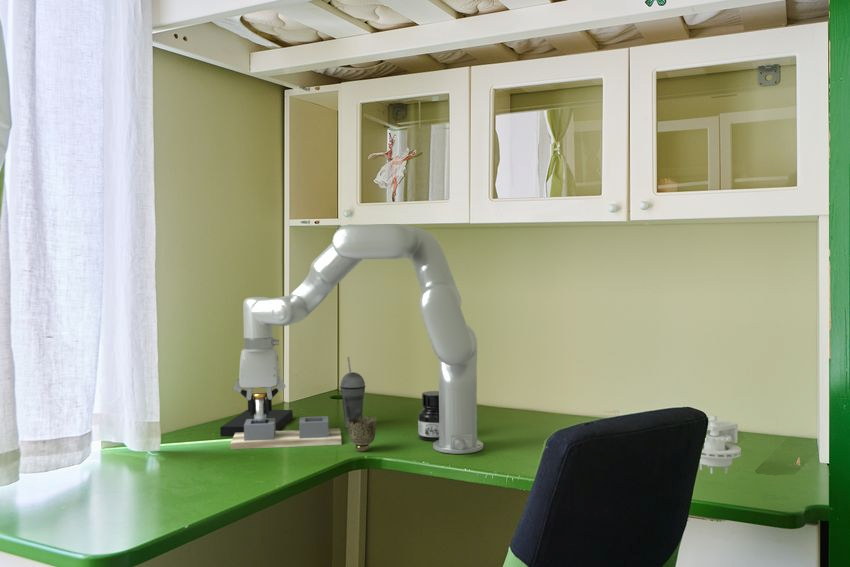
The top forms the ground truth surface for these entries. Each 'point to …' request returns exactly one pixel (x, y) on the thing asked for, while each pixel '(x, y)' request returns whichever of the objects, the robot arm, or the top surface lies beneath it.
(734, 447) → the mechanical part
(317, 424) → the lock mount
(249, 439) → the dock socket
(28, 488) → the top surface
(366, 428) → the cup
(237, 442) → the dock board
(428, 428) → the ink bottle
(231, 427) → the external hard drive
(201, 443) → the top surface
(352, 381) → the beverage cup
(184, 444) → the top surface
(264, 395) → the pin
